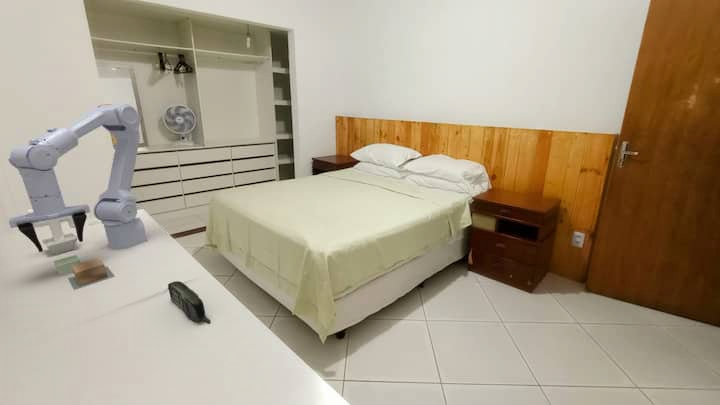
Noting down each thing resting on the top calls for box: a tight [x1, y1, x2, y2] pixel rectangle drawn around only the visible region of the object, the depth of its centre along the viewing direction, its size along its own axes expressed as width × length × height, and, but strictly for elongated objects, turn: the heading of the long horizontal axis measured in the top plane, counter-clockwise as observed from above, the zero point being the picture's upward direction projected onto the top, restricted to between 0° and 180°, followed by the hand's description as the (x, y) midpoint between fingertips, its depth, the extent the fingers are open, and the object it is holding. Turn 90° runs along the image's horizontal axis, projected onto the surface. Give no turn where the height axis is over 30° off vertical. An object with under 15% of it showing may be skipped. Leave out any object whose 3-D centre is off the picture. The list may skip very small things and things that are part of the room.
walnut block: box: [72, 257, 108, 286], centre depth 79 cm, size 6×6×4 cm
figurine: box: [26, 208, 78, 255], centre depth 96 cm, size 7×9×15 cm
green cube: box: [53, 254, 81, 277], centre depth 83 cm, size 4×4×4 cm
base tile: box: [67, 265, 115, 291], centre depth 80 cm, size 8×8×2 cm
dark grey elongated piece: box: [167, 280, 211, 324], centre depth 68 cm, size 5×3×15 cm
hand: (61, 245), depth 81 cm, fingers open, 7 cm apart
